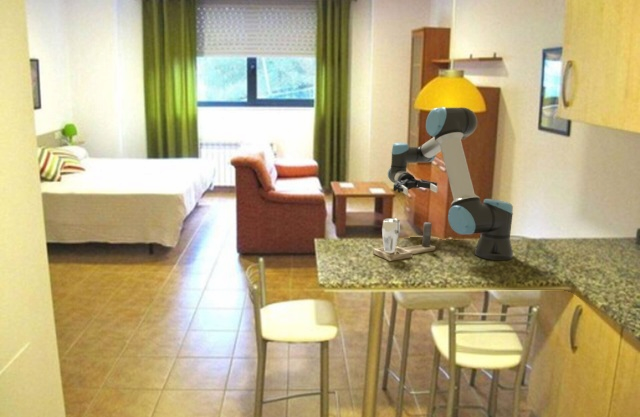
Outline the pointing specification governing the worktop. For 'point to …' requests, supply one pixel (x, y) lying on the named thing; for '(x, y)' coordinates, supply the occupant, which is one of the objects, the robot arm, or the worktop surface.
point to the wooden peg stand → (411, 250)
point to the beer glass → (390, 235)
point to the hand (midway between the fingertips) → (421, 190)
